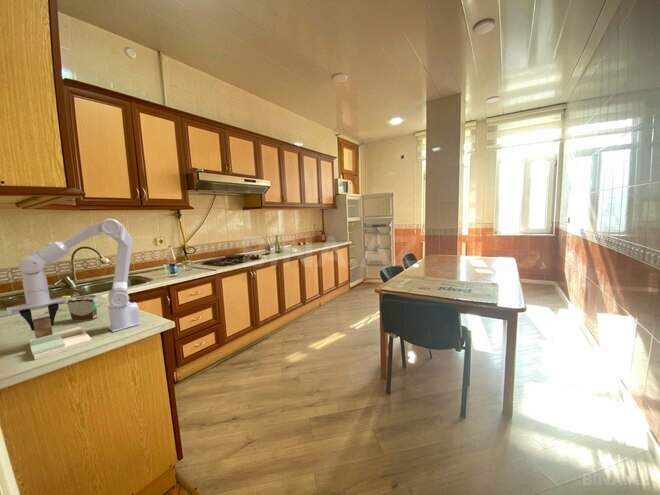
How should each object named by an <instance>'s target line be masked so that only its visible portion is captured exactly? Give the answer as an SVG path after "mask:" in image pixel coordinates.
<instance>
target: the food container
mask: <svg viewBox="0 0 660 495" xmlns="http://www.w3.org/2000/svg"><path fill="white" fill-rule="evenodd" d="M97 302H99V298H98V296H97V295H95V294H88V295H79V296H73V297H68V303H65V305H67V307H68V311H69V315H70V319H71V322H79V321H94V320H96V319H97V318H98V308H97V307H98V306H97V305H98V304H97Z"/></svg>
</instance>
